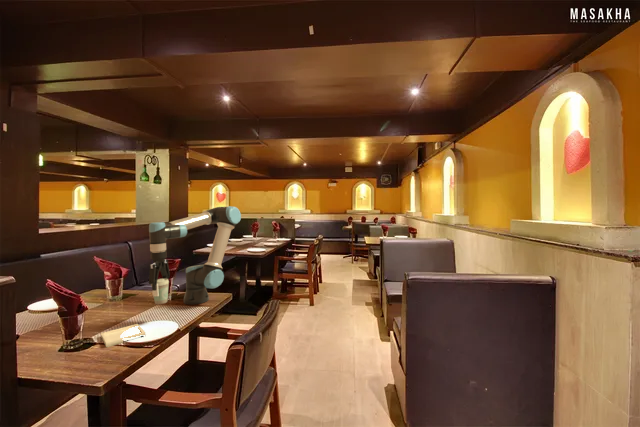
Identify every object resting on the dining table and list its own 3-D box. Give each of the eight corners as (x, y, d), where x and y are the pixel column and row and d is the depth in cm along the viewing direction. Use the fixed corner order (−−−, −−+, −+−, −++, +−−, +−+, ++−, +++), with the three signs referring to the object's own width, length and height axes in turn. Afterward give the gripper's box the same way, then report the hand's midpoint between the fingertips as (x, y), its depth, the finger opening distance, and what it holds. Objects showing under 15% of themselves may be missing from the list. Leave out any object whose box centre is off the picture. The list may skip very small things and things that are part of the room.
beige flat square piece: (137, 327, 146) (137, 323, 146) (145, 336, 135) (145, 332, 135) (100, 337, 135) (100, 333, 135) (106, 347, 125) (106, 343, 125)
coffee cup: (162, 305, 148) (161, 282, 148) (148, 304, 150) (146, 282, 150) (173, 300, 157) (172, 278, 156) (160, 299, 158) (159, 278, 158)
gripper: (162, 248, 163) (164, 287, 164) (138, 255, 142) (141, 300, 143) (175, 248, 163) (177, 287, 164) (153, 254, 142) (156, 299, 142)
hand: (160, 293), depth 153 cm, fingers closed on coffee cup, 8 cm apart
